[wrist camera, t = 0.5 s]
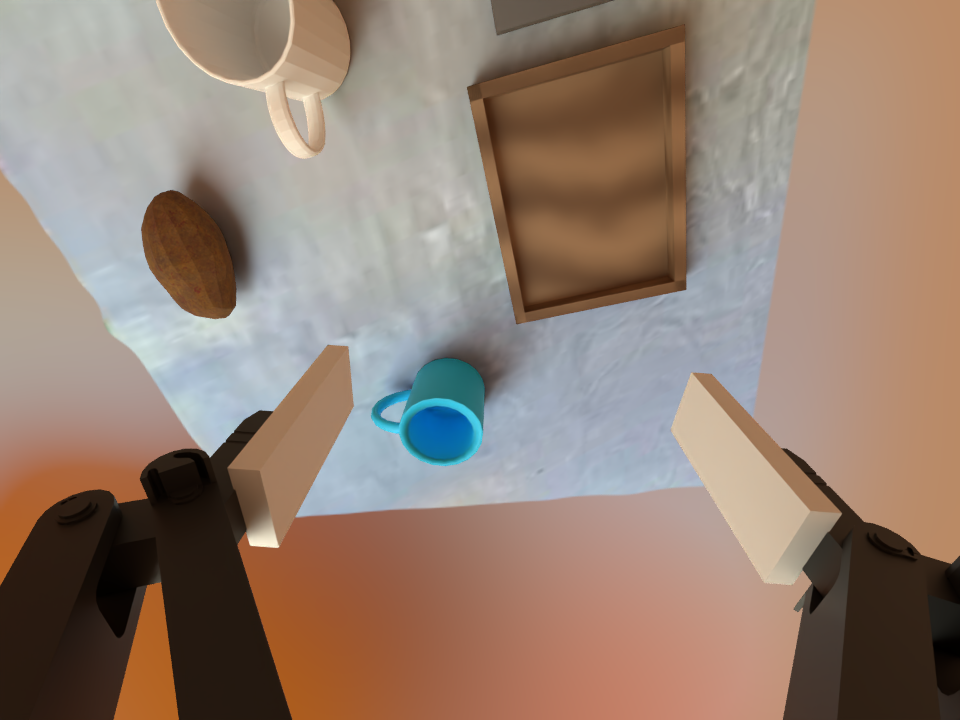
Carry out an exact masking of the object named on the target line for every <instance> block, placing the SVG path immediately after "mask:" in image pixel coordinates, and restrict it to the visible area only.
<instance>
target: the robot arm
mask: <svg viewBox="0 0 960 720" xmlns="http://www.w3.org/2000/svg"><path fill="white" fill-rule="evenodd" d="M353 407H354V404H353V394H352V383H351V372H350V361H349V350H348V346H335V345H328V346H327V347H326V348H325V349H324V350H323V352H322V353H321V354H320V355H319V357H318V358H317V359H316V360H315V361H314V363H313V364H312V365H311V366H310V368H309V369H308V370H307V371H306V372H305V374H304V375H303V376H302V377H301V379H300V380H299V381H298V382H297V383H296V385H295V386H294V387H293V388H292V390H291V391H290V392H289V393H288V394H287V396H286V397H285V398H284V399H283V401H282V402H281V403H280V404H279V405H278V407H277V408H276V409H275V410H274V411H261V410H260V411H258V412H256V413H255V414H253V415H251V416H250V417H248V418H246V419H245V420H244V421H243V422H242V423H241V424H240V425H239V426H238V427H237V428H236V430H235V431H234V433H232V434H231V435H230V436H229V437H228V438H227V440H226V442H225V443H223V444H222V445H221V446H220V447H219V448H218V450H217V451H216V452H215V453H214V454H213V455H212V456H211V457H210V458H209V456H208V455H207V453H206V452H205V451H202V450H199V449H182V450H177V451H173V452H170V453H168V454H165V455H163V456H160V457H159V458H157V459H156V460H154V461H152V462H151V463H150V464H148V466H147V467H146V468H145V469H144V470H143V471H142V474H141V477H140V481H141V483H142V485H143V488H144V490H145V492H146V494H147V497H148V499H143V500H137V501H131V502H125V503H117V501H116V499H115V497H114V495H113V494H111V493H110V492H109V491H104V490H90V491H85V492H81V493H78V494H75V495H72V496H70V497H68V498H66V499H63V500H61V501H59V502H57V503H56V504H55V505H53V506H52V507H50V508H49V509H48V510H46V511H45V512H44V513H43V515H42V516H41V517H40V518H39V519H38V520H37V522H36V524H35V526H34V527H33V529H32V531H31V533H30V534H29V536H28V538H27V540H26V541H25V543H24V545H23V547H22V548H21V550H20V552H19V554H18V556H17V558H16V559H15V561H14V563H13V564H12V566H11V568H10V570H9V572H8V573H7V575H6V577H5V578H4V580H3V582H2V584H1V585H0V720H113V719H114V715H115V711H116V707H117V703H118V699H119V695H120V691H121V687H122V683H123V679H124V675H125V671H126V667H127V663H128V659H129V655H130V651H131V647H132V643H133V639H134V635H135V631H136V627H137V623H138V619H139V615H140V611H141V607H142V603H143V599H144V595H145V591H146V588H147V585H150V584H154V583H159V582H161V584H162V592H163V599H164V607H165V614H166V622H167V630H168V638H169V645H170V654H171V661H172V669H173V677H174V685H175V692H176V700H177V708H178V716H179V720H292V717H291V714H290V711H289V708H288V705H287V701H286V698H285V695H284V692H283V689H282V686H281V682H280V679H279V676H278V673H277V670H276V666H275V663H274V660H273V657H272V654H271V651H270V647H269V644H268V641H267V638H266V635H265V632H264V629H263V625H262V622H261V619H260V616H259V612H258V609H257V606H256V603H255V600H254V597H253V593H252V590H251V587H250V584H249V581H248V578H247V574H246V571H245V568H244V565H243V562H242V558H241V555H240V552H239V549H238V546H237V544H238V543H239V541H240V539H241V538H242V536H243V535H244V533H245V532H246V533H247V537H248V540H249V543H250V545H251V546H263V547H276V548H279V546H280V544H281V542H282V541H283V539H284V537H285V535H286V533H287V531H288V529H289V527H290V526H291V524H292V522H293V520H294V518H295V516H296V514H297V512H298V510H299V509H300V507H301V505H302V503H303V501H304V499H305V497H306V495H307V493H308V492H309V490H310V488H311V486H312V484H313V482H314V480H315V478H316V477H317V475H318V473H319V471H320V469H321V467H322V465H323V463H324V461H325V460H326V458H327V456H328V454H329V452H330V450H331V448H332V446H333V444H334V443H335V441H336V439H337V437H338V435H339V433H340V431H341V429H342V427H343V426H344V424H345V422H346V420H347V418H348V416H349V414H350V412H351V410H352V409H353ZM671 432H672V433H673V435H674V437H675V438H676V440H677V441H678V443H679V445H680V446H681V448H682V450H683V451H684V453H685V454H686V456H687V458H688V459H689V461H690V463H691V464H692V466H693V468H694V469H695V471H696V472H697V474H698V476H699V477H700V479H701V481H702V482H703V484H704V485H705V487H706V489H707V490H708V492H709V494H710V495H711V497H712V498H713V500H714V502H715V503H716V505H717V506H718V508H719V510H720V511H721V513H722V515H723V516H724V518H725V520H726V521H727V523H728V525H729V526H730V528H731V529H732V531H733V533H734V534H735V536H736V537H737V539H738V541H739V542H740V544H741V546H742V547H743V549H744V550H745V552H746V554H747V555H748V557H749V559H750V560H751V562H752V563H753V565H754V567H755V569H756V570H757V572H758V573H759V575H760V577H761V578H762V580H763V581H764V583H773V584H787V585H793V583H794V582H795V580H796V579H797V578H798V576H799V575H800V573H801V572H802V570H803V571H804V572H805V573H806V575H807V576H808V578H809V579H810V580H811V582H812V584H811V586H810V587H809V588H808V590H807V591H806V592H805V594H804V595H803V596H802V598H801V599H800V600H799V602H798V603H797V605H796V606H795V608H794V610H795V611H797V612H799V610H800V609H801V608H803V612H802V617H801V623H800V628H799V634H798V639H797V645H796V650H795V656H794V662H793V667H792V673H791V678H790V683H789V689H788V694H787V700H786V706H785V711H784V717H783V720H960V556H959V557H958V558H957V559H956V560H955V561H954V562H953V563H952V564H949V563H946V562H943V561H939V560H936V559H933V558H930V557H926V556H923V555H921V554H920V553H919V552H918V551H917V550H916V548H915V547H914V546H913V545H912V544H911V543H909V542H908V541H907V540H905V539H904V538H902V537H901V536H900V535H898V534H896V533H894V532H892V531H891V530H889V529H887V528H884V527H882V526H879V525H876V524H873V523H866V522H863V521H862V519H861V518H860V517H859V516H858V515H857V514H856V513H855V512H854V511H853V510H852V509H851V508H850V507H849V506H848V505H847V504H846V503H845V502H844V501H843V500H842V499H841V498H840V497H839V496H838V495H837V494H836V493H835V492H834V491H833V490H832V489H831V488H830V487H829V486H827V485H826V482H824V480H823V479H821V477H820V476H817V475H816V472H815V471H814V470H813V469H812V468H811V467H810V466H809V465H808V464H807V463H806V462H805V461H804V460H803V459H801V458H800V457H798V456H797V455H795V454H794V453H792V452H791V451H789V450H788V449H782V448H780V447H779V446H778V444H776V443H775V441H774V440H773V439H772V438H771V437H770V436H769V435H768V434H767V433H766V432H765V431H764V430H763V429H762V427H761V426H759V424H758V423H757V422H756V421H755V420H754V419H753V418H752V417H751V416H750V415H749V414H748V412H747V411H746V410H745V409H744V408H743V407H742V406H741V405H740V404H739V403H738V402H737V401H736V400H735V399H734V398H733V397H732V395H731V394H730V393H729V392H728V391H727V390H726V389H725V388H724V387H723V386H722V385H721V384H720V383H719V382H718V381H717V379H716V378H715V377H714V376H713V375H712V374H705V373H691V375H690V378H689V381H688V383H687V386H686V389H685V392H684V394H683V397H682V400H681V403H680V405H679V408H678V411H677V414H676V416H675V419H674V422H673V425H672V427H671Z"/></svg>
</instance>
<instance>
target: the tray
mask: <svg viewBox="0 0 960 720" xmlns="http://www.w3.org/2000/svg"><path fill="white" fill-rule="evenodd" d="M467 90H468V95H469V99H470V104H471V109H472V114H473V119H474V123H475V128H476V133H477V138H478V143H479V147H480V152H481V157H482V162H483V166H484V171H485V176H486V181H487V186H488V190H489V195H490V200H491V205H492V209H493V214H494V219H495V224H496V229H497V233H498V238H499V243H500V248H501V252H502V257H503V262H504V267H505V272H506V276H507V281H508V286H509V291H510V296H511V300H512V305H513V310H514V315H515V319H516V324H520V323H525V322H530V321H535V320H540V319H545V318H550V317H554V316H559V315H564V314H569V313H574V312H579V311H584V310H589V309H594V308H599V307H604V306H609V305H613V304H618V303H623V302H628V301H633V300H638V299H643V298H648V297H653V296H658V295H663V294H668V293H672V292H677V291H682V290H686V147H685V24H684V25H681V26H677V27H674V28H670V29H667V30H663V31H660V32H656V33H653V34H649V35H646V36H642V37H639V38H635V39H632V40H628V41H625V42H622V43H618V44H615V45H611V46H608V47H604V48H601V49H597V50H594V51H590V52H587V53H583V54H580V55H576V56H573V57H569V58H566V59H562V60H559V61H555V62H552V63H548V64H545V65H542V66H538V67H535V68H531V69H528V70H524V71H521V72H517V73H514V74H510V75H507V76H503V77H500V78H496V79H493V80H489V81H486V82H482V83H479V84H475V85H472V86H468V87H467Z"/></svg>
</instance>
